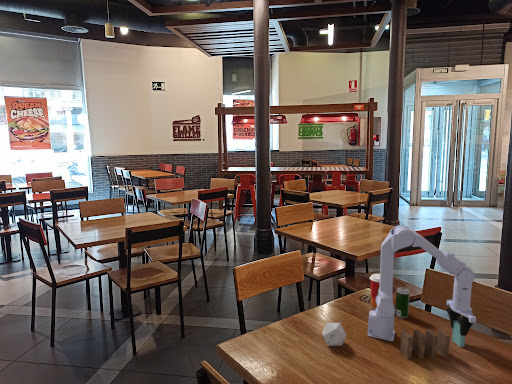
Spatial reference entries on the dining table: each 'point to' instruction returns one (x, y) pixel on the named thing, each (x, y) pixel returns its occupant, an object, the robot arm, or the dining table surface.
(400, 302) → the beer can
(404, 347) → the domino
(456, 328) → the domino
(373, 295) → the paper cup
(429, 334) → the domino
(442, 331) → the domino
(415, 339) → the domino
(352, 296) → the dining table surface
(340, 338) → the die
